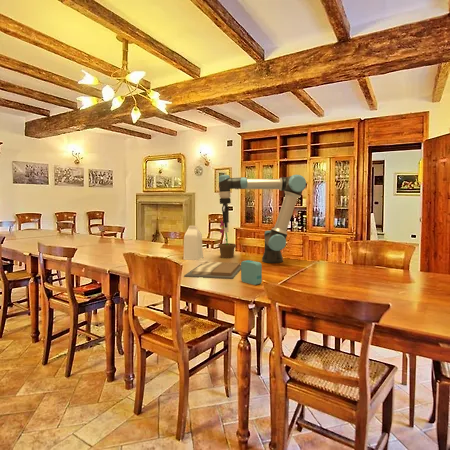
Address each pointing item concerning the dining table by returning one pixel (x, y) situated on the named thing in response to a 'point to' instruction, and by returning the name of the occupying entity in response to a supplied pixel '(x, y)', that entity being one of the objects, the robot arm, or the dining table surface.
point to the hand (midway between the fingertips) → (226, 232)
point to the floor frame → (220, 271)
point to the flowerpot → (226, 246)
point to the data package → (251, 272)
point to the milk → (193, 244)
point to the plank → (206, 268)
